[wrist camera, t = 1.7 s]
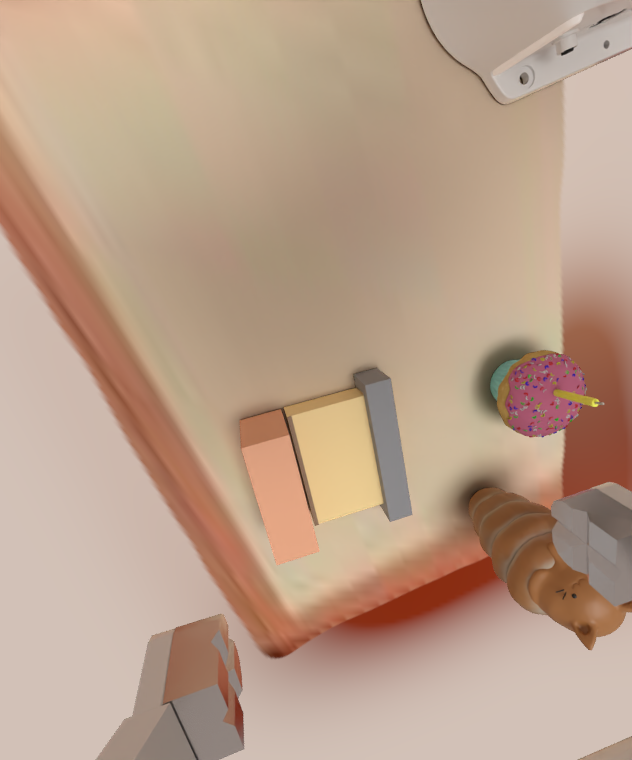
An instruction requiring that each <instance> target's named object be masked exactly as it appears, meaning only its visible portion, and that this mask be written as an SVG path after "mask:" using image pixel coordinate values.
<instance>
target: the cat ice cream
mask: <svg viewBox="0 0 632 760" xmlns="http://www.w3.org/2000/svg"><path fill="white" fill-rule="evenodd" d="M469 515H470V517H471V519H472V521H473V525H474V529H475V532H476V533H477V535H478V536H479V539H480V544H481V546H482V548H483V550H484V551H485V552H486V553H487V554H488V555H489V556H490V557H491V558H492V563H493V568H494V571H495V573H496V575H497V576H498V577H499V578H500V579H501V580H503V581H504V582H505V583H507V586H508V589H509V592H510V594H511V596H512V598H513V599H514V600H515V601H516V602H517V603H518V604H519V605H520V606H521V607H523V608H524V609H526V610H528V611H530V612H532V613H535V614H542V615H548V616H549V617H550V618H552V619H553V620H554V621H555V622H557V623H559V624H561V625H562V626H564V627H566V628H568V629H569V630H571V631H573V632H575V633H576V635H577V636H578V638H579V639H580V640H581V642H582V643H583V644H584V645H585V647H586V648H588V650H592V648H593V646H594V644H595V641H596V637H601V636H606V635H608V634H611V633H612V632H614V631H615V630H617V628H618V627H620V625H621V624H622V622H623V621H624V618H625V615H626V612H632V601H629V602H627V603H624V604H621V605H618V606H615V607H614V606H613V605H612V604H611V603H610V602H609V601H608V600H607V599H605V598H604V597H603V596H602V595H601V594H600V593H599V592H597V591H596V590H595V589H594V588H593V587H592V586H591V585H590V584H589V582H588V578H587V574H584V573H581V572H578V571H575V570H573V569H572V568H571V567H570V566H568V565H567V564H566V563H565V562H564V561H563V559H562V558H561V557H560V555H559V554H558V552H557V550H556V548H555V546H554V544H553V539H552V529H553V527H554V526H555V524H556V522H557V520H556V519H555V518H554V517H553V516H552V515H551V510H549V509H548V508H546V507H544V506H542V505H540V504H536V503H533V502H530V501H529V500H527V499H526V498H524V497H522V496H519V495H517V494H514V493H506V492H505V491H503V490H501V489H498V488H484V489H481V490H479V491H477V492H476V493H475V494H474V495H473V496H472V498H471V500H470V502H469Z"/></svg>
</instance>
